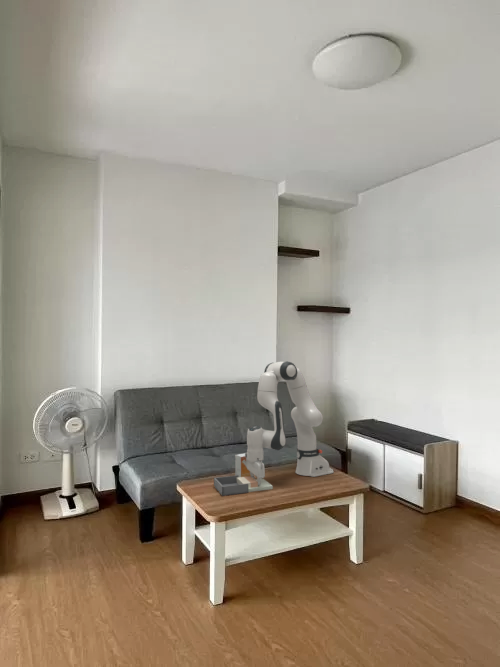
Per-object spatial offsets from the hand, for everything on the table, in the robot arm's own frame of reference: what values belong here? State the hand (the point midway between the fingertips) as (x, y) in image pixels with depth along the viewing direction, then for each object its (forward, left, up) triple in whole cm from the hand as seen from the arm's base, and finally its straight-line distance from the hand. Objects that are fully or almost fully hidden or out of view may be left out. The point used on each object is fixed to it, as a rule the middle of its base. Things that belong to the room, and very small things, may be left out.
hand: (255, 482), depth 253 cm
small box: (+1, -19, -3) cm, 19 cm away
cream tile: (+7, 0, -1) cm, 7 cm away
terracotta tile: (+3, 0, -1) cm, 3 cm away
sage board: (0, 0, -2) cm, 2 cm away
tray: (+14, 0, -2) cm, 14 cm away
